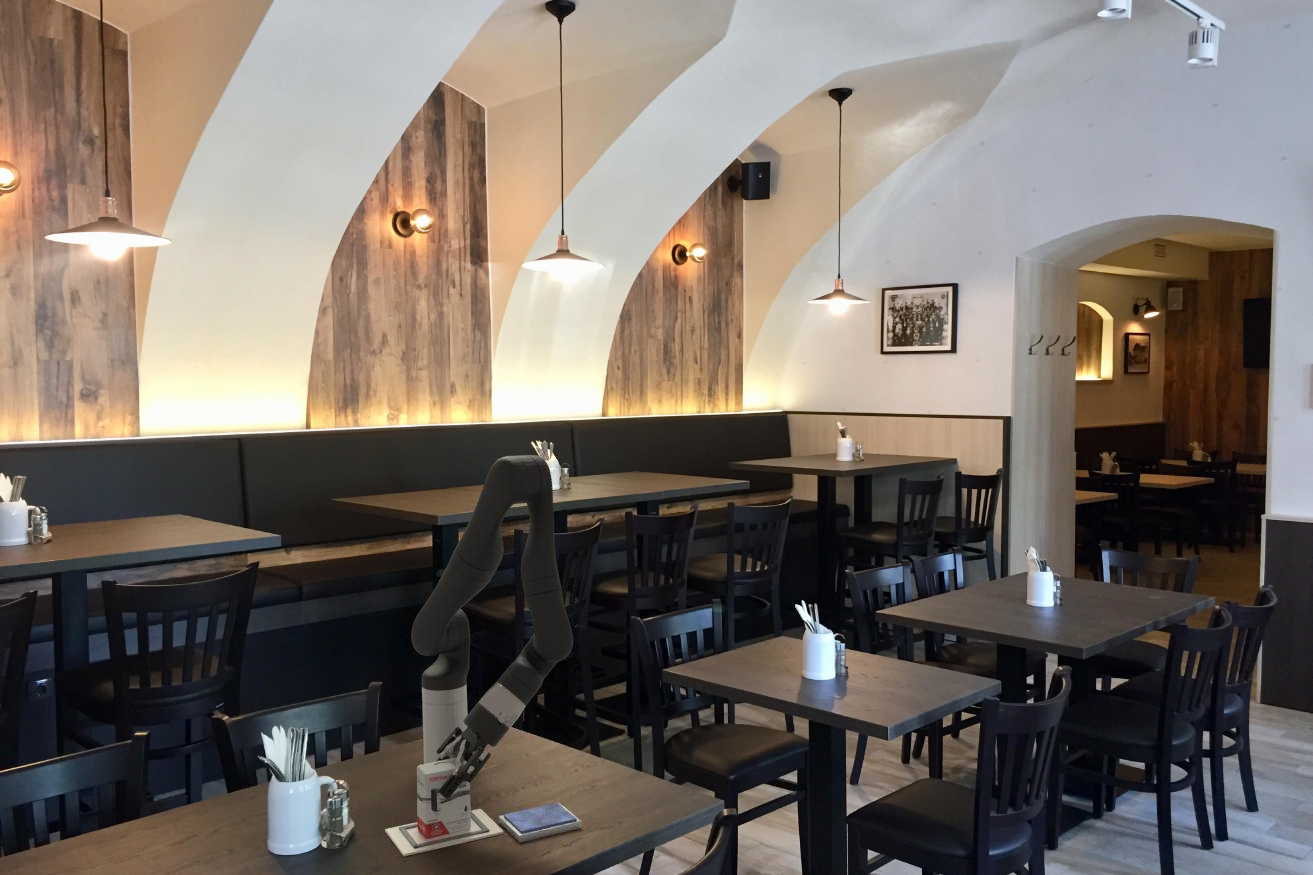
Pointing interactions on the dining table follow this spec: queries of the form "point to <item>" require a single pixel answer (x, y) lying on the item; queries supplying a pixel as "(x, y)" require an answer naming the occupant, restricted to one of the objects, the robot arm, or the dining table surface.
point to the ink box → (441, 801)
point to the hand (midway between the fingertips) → (435, 788)
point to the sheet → (415, 842)
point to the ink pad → (539, 822)
